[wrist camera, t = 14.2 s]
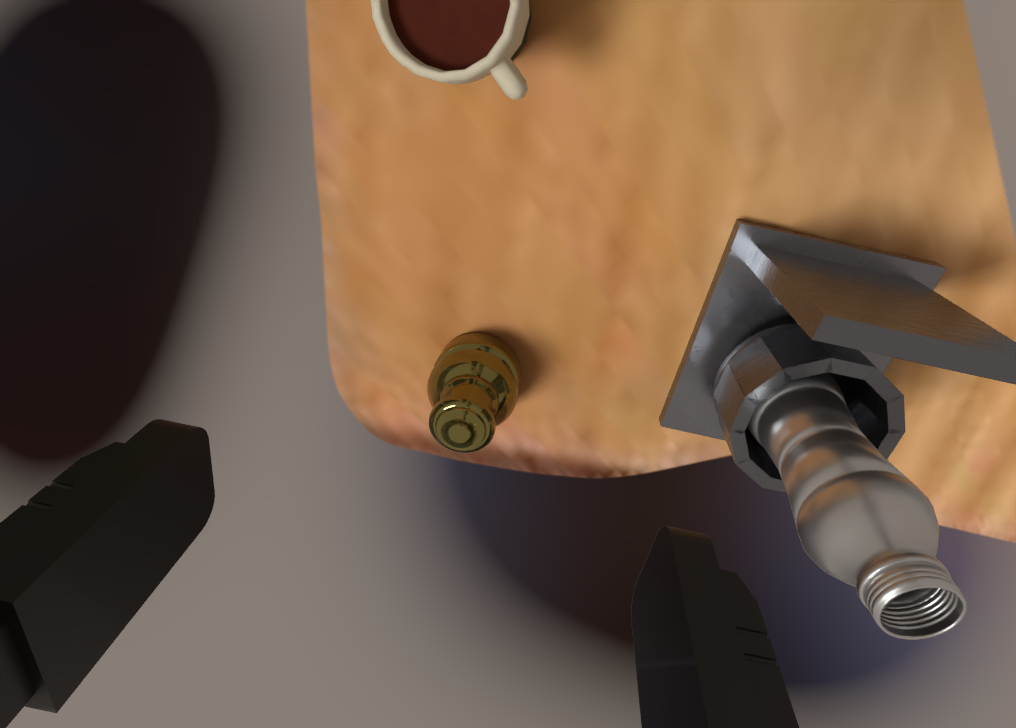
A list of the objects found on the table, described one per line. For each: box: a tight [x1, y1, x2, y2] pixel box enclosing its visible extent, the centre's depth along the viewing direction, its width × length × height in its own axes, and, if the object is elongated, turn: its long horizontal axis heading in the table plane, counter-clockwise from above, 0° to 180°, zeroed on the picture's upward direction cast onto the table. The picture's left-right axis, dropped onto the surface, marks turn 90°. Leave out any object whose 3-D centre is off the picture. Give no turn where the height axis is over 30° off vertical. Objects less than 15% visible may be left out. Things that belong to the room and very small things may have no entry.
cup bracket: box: [659, 219, 1016, 493], centre depth 39 cm, size 18×15×14 cm
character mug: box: [371, 0, 531, 100], centre depth 31 cm, size 11×7×13 cm, turn 38°
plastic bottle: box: [747, 373, 967, 640], centre depth 34 cm, size 6×7×20 cm
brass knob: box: [427, 333, 521, 453], centre depth 45 cm, size 7×7×10 cm
